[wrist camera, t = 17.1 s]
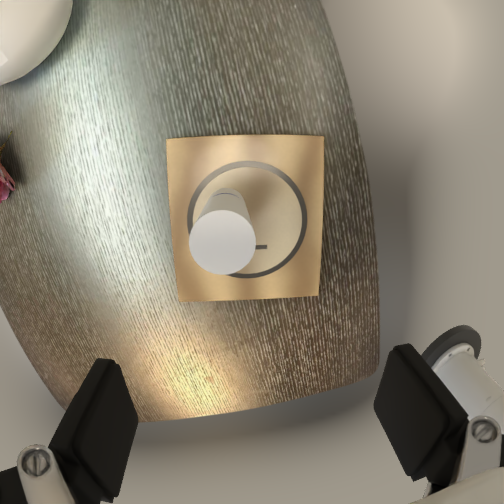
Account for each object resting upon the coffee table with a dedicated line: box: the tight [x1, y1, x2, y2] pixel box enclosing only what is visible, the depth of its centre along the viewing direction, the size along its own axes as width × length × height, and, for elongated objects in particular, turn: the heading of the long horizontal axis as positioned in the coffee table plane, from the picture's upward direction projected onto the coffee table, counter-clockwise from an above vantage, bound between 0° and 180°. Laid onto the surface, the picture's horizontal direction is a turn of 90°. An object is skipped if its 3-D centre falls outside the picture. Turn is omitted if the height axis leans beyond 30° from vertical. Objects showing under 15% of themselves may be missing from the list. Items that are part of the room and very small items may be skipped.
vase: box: [0, 0, 73, 85], centre depth 15 cm, size 18×18×19 cm
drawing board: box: [166, 135, 324, 302], centre depth 34 cm, size 18×20×2 cm
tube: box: [189, 188, 256, 275], centre depth 26 cm, size 4×4×15 cm
